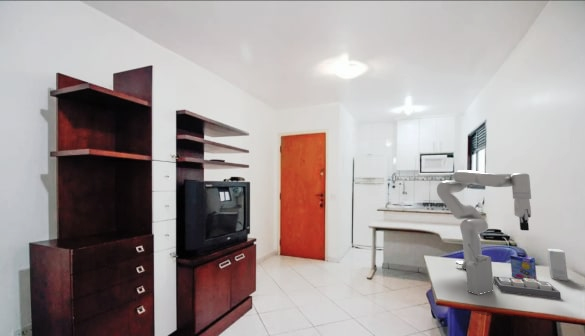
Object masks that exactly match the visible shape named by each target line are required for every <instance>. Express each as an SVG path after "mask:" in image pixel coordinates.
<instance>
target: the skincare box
mask: <svg viewBox="0 0 585 336" xmlns="http://www.w3.org/2000/svg"><path fill="white" fill-rule="evenodd" d="M546 250H547V259H548V260H547V261H548V268H549V275H550V277H551V278H552V279H553V280H559V281H566V282H568V281H569V277H568V269H567V267H568V266H567V262H566V252H565V251H564V250H562V249H558V248H546Z"/></svg>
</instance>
